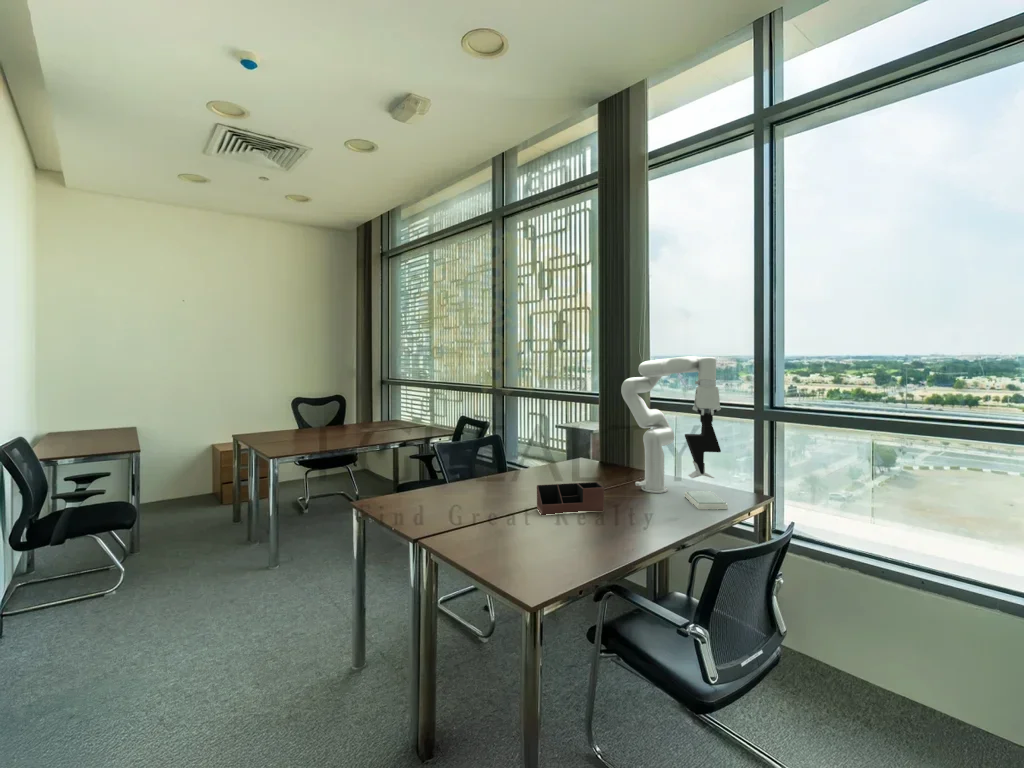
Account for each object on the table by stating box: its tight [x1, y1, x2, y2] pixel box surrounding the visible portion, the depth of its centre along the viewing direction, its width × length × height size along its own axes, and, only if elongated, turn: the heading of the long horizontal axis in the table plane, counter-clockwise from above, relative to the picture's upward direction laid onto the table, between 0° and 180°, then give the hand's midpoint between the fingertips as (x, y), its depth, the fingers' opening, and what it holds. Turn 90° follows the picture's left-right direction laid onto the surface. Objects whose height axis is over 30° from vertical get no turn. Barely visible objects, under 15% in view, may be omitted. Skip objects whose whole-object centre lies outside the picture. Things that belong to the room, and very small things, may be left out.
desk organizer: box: [536, 481, 605, 515], centre depth 218 cm, size 10×29×11 cm, turn 99°
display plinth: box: [684, 490, 729, 511], centre depth 226 cm, size 13×19×3 cm
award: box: [684, 411, 722, 479], centre depth 225 cm, size 15×5×30 cm, turn 87°
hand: (706, 423), depth 224 cm, fingers closed on award
